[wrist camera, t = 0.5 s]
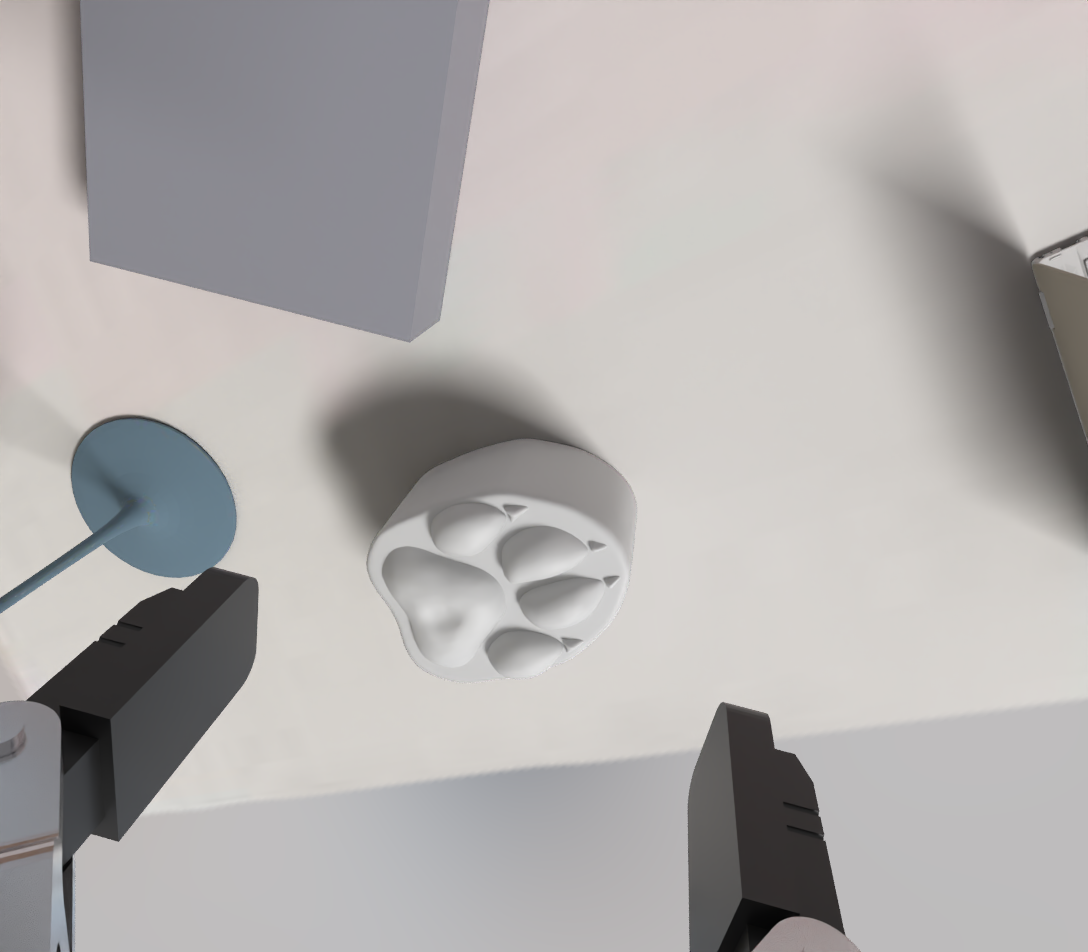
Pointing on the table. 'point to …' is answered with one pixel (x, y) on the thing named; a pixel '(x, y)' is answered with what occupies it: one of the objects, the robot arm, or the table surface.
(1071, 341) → the laptop
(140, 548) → the cocktail glass
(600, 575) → the lumpy-topped squat cylinder
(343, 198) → the plain gray square box
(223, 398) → the table surface
